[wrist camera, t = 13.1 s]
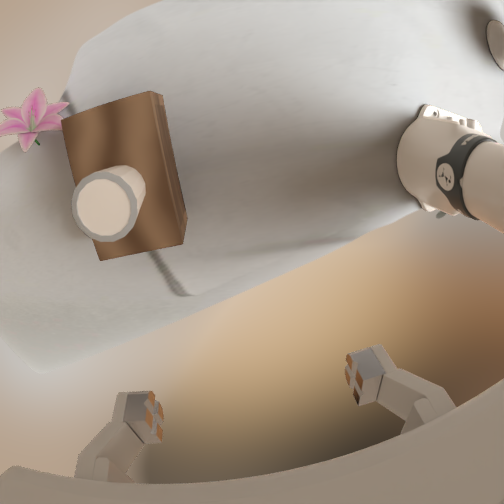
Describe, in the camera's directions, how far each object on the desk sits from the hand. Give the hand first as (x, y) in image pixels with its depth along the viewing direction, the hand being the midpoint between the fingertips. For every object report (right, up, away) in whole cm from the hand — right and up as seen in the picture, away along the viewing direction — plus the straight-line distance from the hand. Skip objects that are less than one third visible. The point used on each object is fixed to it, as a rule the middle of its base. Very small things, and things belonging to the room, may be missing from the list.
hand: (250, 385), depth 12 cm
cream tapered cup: (-14, +12, +20) cm, 28 cm away
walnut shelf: (-16, +17, +28) cm, 36 cm away
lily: (-30, +25, +22) cm, 45 cm away
